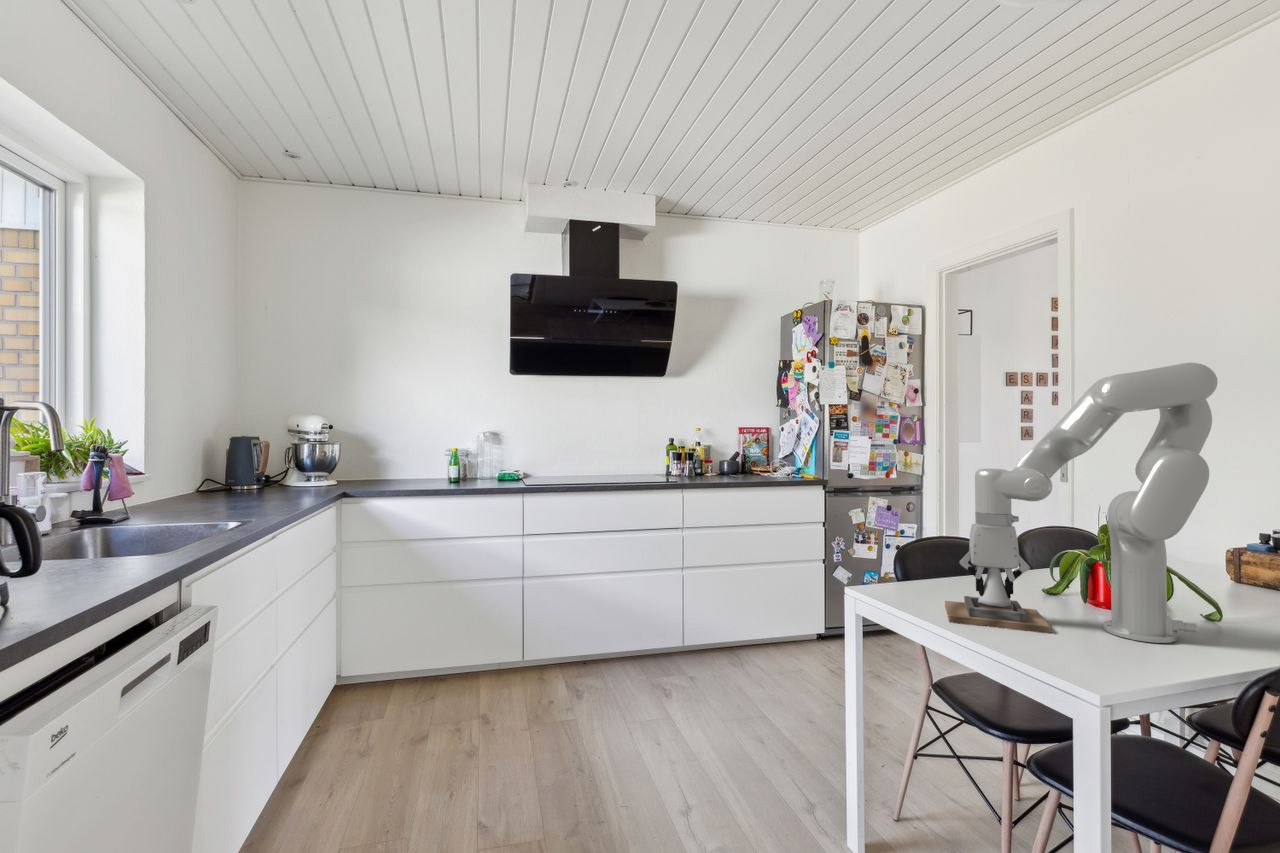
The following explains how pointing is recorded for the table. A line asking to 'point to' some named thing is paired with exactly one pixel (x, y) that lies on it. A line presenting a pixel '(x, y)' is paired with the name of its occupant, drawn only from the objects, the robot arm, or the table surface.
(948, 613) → the walnut board
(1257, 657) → the table surface
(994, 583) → the flask
